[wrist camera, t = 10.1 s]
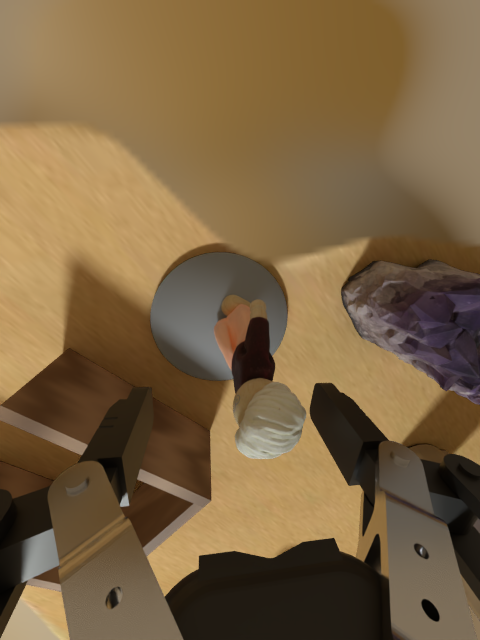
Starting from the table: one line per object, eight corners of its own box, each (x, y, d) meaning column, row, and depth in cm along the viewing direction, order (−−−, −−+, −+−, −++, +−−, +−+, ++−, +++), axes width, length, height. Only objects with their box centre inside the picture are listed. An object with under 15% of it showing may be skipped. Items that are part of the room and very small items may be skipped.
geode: (311, 350, 23) (386, 407, 14) (352, 237, 21) (472, 210, 12) (462, 386, 27) (603, 451, 18) (508, 293, 25) (696, 308, 16)
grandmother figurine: (208, 285, 19) (212, 373, 7) (254, 280, 19) (332, 356, 7) (218, 365, 21) (232, 525, 10) (257, 359, 22) (318, 506, 10)
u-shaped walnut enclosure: (209, 431, 25) (211, 500, 18) (122, 513, 28) (96, 599, 21) (68, 348, 19) (0, 405, 13) (-24, 460, 22) (-119, 554, 16)
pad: (294, 256, 19) (297, 257, 19) (276, 375, 24) (278, 379, 23) (147, 247, 17) (145, 247, 17) (156, 378, 22) (154, 382, 21)
